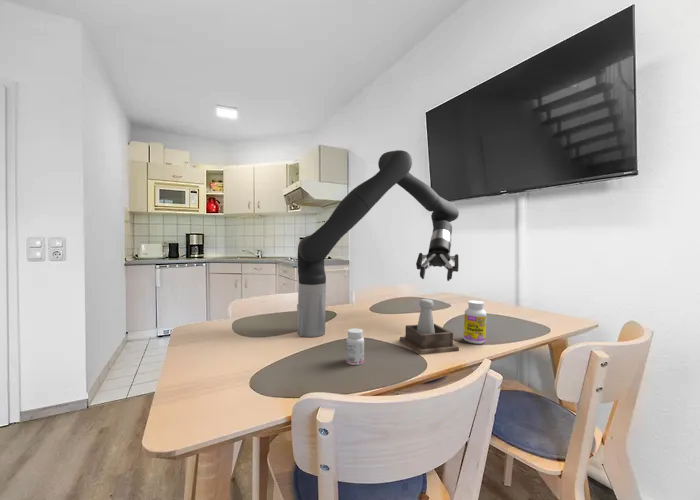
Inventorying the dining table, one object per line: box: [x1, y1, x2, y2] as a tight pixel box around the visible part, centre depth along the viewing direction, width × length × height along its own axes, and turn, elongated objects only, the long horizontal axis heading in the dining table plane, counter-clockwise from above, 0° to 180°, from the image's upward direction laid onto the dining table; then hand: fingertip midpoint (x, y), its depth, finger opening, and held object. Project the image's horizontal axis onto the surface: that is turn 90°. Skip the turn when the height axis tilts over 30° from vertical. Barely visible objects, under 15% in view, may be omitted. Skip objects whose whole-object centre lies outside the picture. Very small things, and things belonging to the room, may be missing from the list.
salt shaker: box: [417, 298, 435, 334], centre depth 99 cm, size 6×6×13 cm
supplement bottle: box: [463, 300, 487, 345], centre depth 103 cm, size 7×7×13 cm
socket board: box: [399, 323, 460, 355], centre depth 98 cm, size 13×13×5 cm
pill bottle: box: [345, 327, 365, 366], centre depth 84 cm, size 5×5×8 cm
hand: (435, 278), depth 108 cm, fingers open, 8 cm apart
